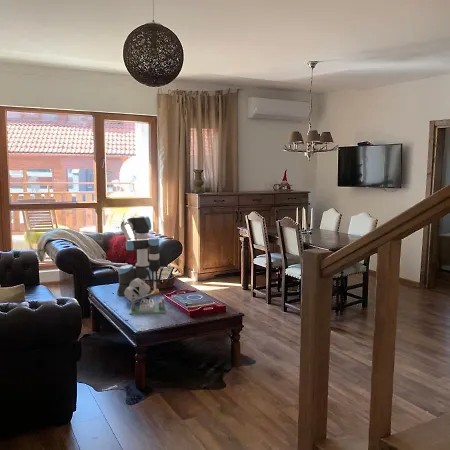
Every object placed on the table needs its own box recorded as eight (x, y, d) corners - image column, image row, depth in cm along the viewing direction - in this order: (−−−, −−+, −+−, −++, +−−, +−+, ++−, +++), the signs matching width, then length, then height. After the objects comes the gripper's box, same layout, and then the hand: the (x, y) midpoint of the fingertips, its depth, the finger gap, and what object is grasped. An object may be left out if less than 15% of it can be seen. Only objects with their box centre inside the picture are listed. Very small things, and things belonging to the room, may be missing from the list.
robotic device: (140, 314, 354) (154, 295, 350) (119, 297, 356) (132, 278, 352) (145, 310, 365) (159, 291, 360) (124, 294, 366) (137, 274, 362)
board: (131, 307, 348) (131, 306, 348) (164, 306, 351) (164, 304, 351) (129, 314, 332) (129, 313, 332) (164, 313, 335) (164, 311, 335)
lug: (158, 307, 345) (158, 297, 344) (164, 307, 346) (164, 296, 345) (158, 309, 339) (158, 299, 338) (164, 309, 340) (164, 299, 339)
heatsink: (140, 306, 347) (140, 299, 346) (154, 306, 348) (153, 299, 347) (139, 311, 335) (139, 304, 334) (153, 311, 336) (153, 304, 335)
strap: (132, 301, 342) (131, 298, 342) (159, 291, 344) (158, 288, 343) (132, 303, 336) (131, 301, 336) (159, 293, 338) (158, 291, 337)
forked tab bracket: (131, 308, 343) (131, 297, 342) (135, 307, 344) (134, 297, 342) (131, 310, 337) (130, 300, 336) (134, 310, 337) (134, 300, 336)
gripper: (144, 260, 332) (145, 292, 336) (163, 259, 334) (164, 291, 337) (145, 258, 340) (146, 289, 343) (163, 257, 341) (164, 288, 344)
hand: (155, 290), depth 340 cm, fingers closed
